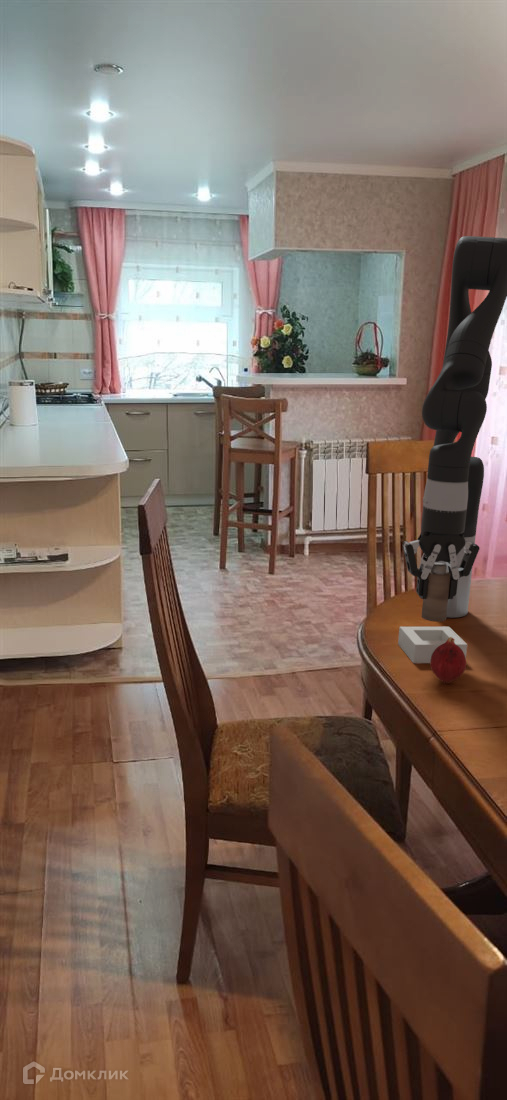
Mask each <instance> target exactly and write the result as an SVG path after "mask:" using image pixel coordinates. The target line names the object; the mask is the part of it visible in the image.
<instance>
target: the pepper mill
mask: <svg viewBox="0 0 507 1100" xmlns="http://www.w3.org/2000/svg"><path fill="white" fill-rule="evenodd" d="M450 577H451V573H450V572H447V571H446V564H443V563H434V565H433V567H432V568H431V570H430V572H429V574H428V577H427V579H428V585H427V596H426V599H422V605H421V606H422V607H421V609H422V610H421V618H422V619H423V620H424V621H428V622H436V623H437V622H438V623H440V622H444V621H447V617H446V616H447V606H448V596H449V586H450Z"/></svg>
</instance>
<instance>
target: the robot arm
mask: <svg viewBox="0 0 507 1100" xmlns="http://www.w3.org/2000/svg"><path fill="white" fill-rule="evenodd" d="M450 281H451V284H450V301H449V302H450V303H449V313H448V314H449V316H448V328H447V335H446V340H445V341H446V342H445V343H446V344H445V349H444V355H443V363H442V368H441V371H440V372H439V374H438V376H437V378H436V379H435V381H434V383H433V384H432V385H431V388H430V389H429V391H428V393H427V395H426V396H425V399H424V401H423V404H422V408H421V415H422V416H421V417H422V420H423V422H424V424H425V426H426V427H427V428H428V429H430V430H432V431H433V430H434V431H435V435H434V436H435V437H434V441H433V447H431V448H430V450H429V455H428V463H427V465H428V466H427V473H426V474H427V477H426V483H425V487H424V492H423V498H422V514H421V515H422V516H421V525H420V533H419V536H418V537H417V540H416V539H415V540H412V541H409V542H408V541H407V540H404V541H403V542H402V549H403V554H404V558H405V563H406V569H407V571H408V573H409V574H410V575H412V576H414V577H416V578H417V580H416V587H415V588H416V590H415V591H416V594H417V595H418V596H419V598H420V599H421V600H423V599H426V596H427V585H428V579H427V577H428V574H429V572H430V570H431V568H432V567H433V565H434V563H443V564H446V571H447V572H450V573H451V577H450V586H449V596H448V606H447V616H446V618H461V617H465V616H467V615H468V610H469V602H470V593H471V584H472V575H473V573H472V572H473V566H474V563H475V561H476V559H477V556H478V555H479V551H480V548H481V547H480V546H479V545H478V544H476V536H477V526H478V519H479V510H480V504H481V503H480V502H481V496H482V491H483V486H484V477H485V465H484V462H483V460H482V458H480V457H477V456H472V453H473V450H474V447H475V443H476V440H477V438H478V435H479V433H480V431H481V428H482V426H483V424H484V420H485V419H486V416H487V415H486V414H487V411H488V410H487V408H488V405H487V401H486V399H487V397H488V394H489V391H490V381H491V374H492V367H493V362H492V356H491V353H490V351H489V350H490V346H491V343H492V342H491V341H492V338H493V336H494V333H495V330H496V327H497V325H498V322H499V319H500V317H501V314H502V311H503V310H504V309H503V308H504V306H505V303H506V299H507V238H505V237H496V236H495V237H494V236H491V237H490V236H472V235H466V236H465V235H464V236H462V237H460V238H459V239H458V241H457V243H456V244H455V249H454V252H453V257H452V269H451V280H450ZM469 290H478V291H488V293H487V295H486V297H485V298H484V299H483V300H482V302H481V303H480V304H479V305H478V306H477V307H476V308H475V309H474V310H473V311H472V309H471V305H470V298H469V297H470V295H469ZM460 433H461V434H460ZM459 434H460V437H459V438H458V439H457V441H455V440H456V438H457V437H458V435H459ZM418 548H419V549H421V551H422V556H421V559H420V562H419V563H420V564H419V566H418V565H417V559H416V556H415V554H417V552H418Z"/></svg>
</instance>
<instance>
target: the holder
mask: <svg viewBox="0 0 507 1100" xmlns="http://www.w3.org/2000/svg"><path fill="white" fill-rule="evenodd" d="M398 630H399V631H398V641H397V645H398V646H399V647H400V649H402V651H403V652H404V653H405V655H406V656H407V657H408V658H409V659H410V661H411V662H412V664H431V656H432V653H433V652H434V650H435V649H436V648H437V647H438V646H440V645H442V644H444V643H446V641H447V640H448V638H450V637H452V638H453V639H455V640H454V643H455V644H456V645H457V646H459V647H460V648H461V649H462V651H463V652H464V655H465V658H466V659H467V651H468V643H466V641H464V640H463V638H462V637H461V636H459V635H458V634H457V633H456V632H455V631H454V630H453V629H452V628H451V627H450V626H399V628H398Z"/></svg>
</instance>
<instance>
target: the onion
mask: <svg viewBox="0 0 507 1100" xmlns="http://www.w3.org/2000/svg"><path fill="white" fill-rule="evenodd" d="M454 640H455V639H453V638H452V637H450V638H448V640H447V641H446V643H444V644H442V645H440V646H438V647H437V648H436V649H435V650H434V652H433V653H432V656H431V663H430V669H431V671H432V673H433V674H434V675H435V676H436V678H438V680H439V681H441V682H442V683H444V684H450V683H451V682H454V681H456V680H457V679H459V677H461V676H462V675H463V673H464V672H465V671H466V667H467V657H466V658H465V655H464V652H463V651H462V649H461V648H460V647H459V646H457V645H456V644H455V643H454Z"/></svg>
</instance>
